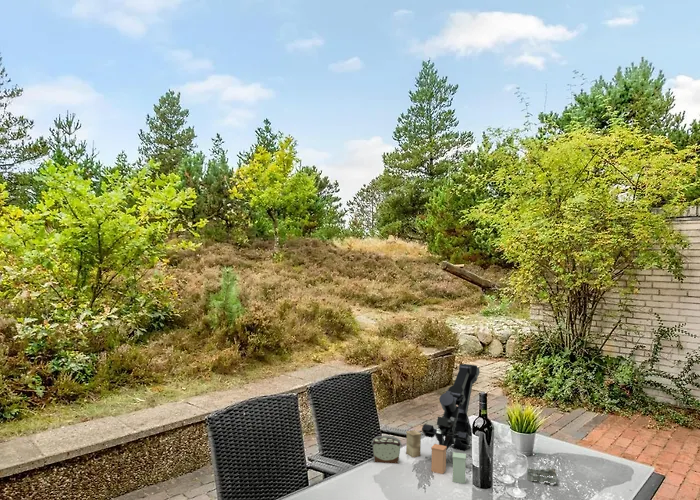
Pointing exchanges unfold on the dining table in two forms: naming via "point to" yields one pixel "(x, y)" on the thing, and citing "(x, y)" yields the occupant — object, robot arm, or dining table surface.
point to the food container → (386, 449)
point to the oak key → (413, 443)
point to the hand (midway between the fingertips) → (441, 454)
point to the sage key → (459, 467)
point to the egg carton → (535, 474)
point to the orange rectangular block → (438, 458)
